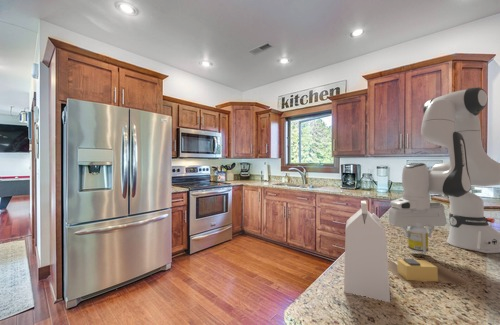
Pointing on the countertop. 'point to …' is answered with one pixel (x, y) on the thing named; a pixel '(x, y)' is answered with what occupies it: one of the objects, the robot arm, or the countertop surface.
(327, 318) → the countertop surface
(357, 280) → the milk
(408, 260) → the yellow block
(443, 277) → the board
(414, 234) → the pill bottle
